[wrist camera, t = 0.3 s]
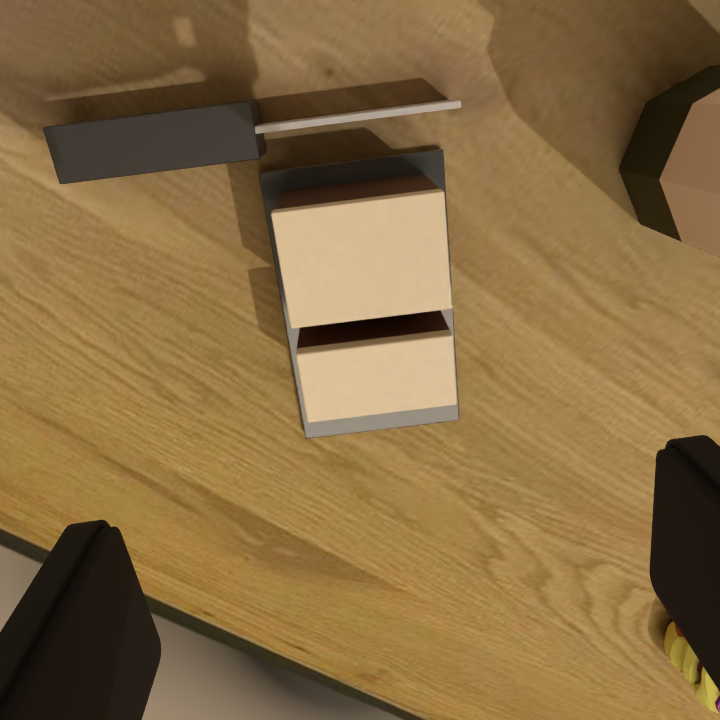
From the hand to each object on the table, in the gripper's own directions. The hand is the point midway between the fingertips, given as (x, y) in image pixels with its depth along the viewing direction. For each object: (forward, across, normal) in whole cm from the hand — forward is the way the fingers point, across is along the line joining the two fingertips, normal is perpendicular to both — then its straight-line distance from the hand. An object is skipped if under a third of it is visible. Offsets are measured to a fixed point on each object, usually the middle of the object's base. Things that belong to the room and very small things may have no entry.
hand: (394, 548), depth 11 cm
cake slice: (+22, 0, +4) cm, 23 cm away
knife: (+23, +3, -6) cm, 24 cm away
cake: (+22, 0, -1) cm, 23 cm away
